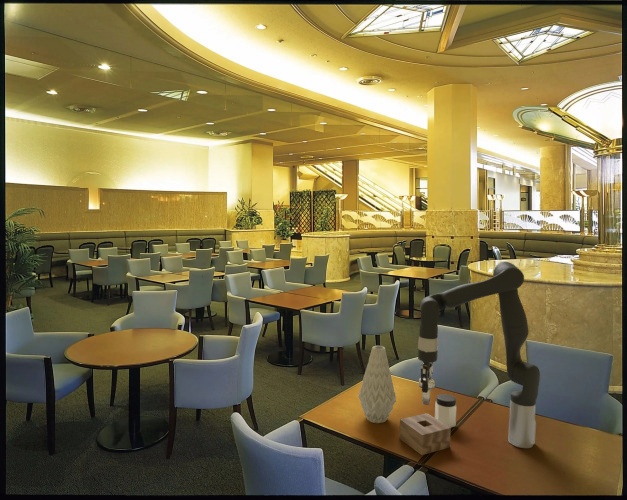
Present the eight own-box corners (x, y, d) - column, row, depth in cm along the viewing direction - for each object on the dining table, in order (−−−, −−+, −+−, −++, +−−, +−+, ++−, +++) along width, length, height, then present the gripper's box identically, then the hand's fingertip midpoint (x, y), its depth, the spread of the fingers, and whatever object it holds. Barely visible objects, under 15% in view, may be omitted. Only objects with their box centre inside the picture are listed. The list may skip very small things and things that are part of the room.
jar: (457, 428, 190) (459, 401, 189) (439, 428, 190) (440, 401, 189) (450, 419, 199) (451, 393, 198) (432, 419, 199) (433, 393, 198)
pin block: (426, 431, 187) (427, 413, 187) (449, 447, 175) (450, 427, 174) (399, 438, 181) (400, 419, 181) (421, 455, 169) (422, 435, 168)
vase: (378, 431, 186) (381, 355, 183) (350, 417, 199) (352, 346, 196) (403, 420, 197) (405, 348, 194) (375, 407, 210) (376, 339, 207)
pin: (426, 399, 181) (427, 376, 180) (436, 405, 175) (437, 381, 174) (415, 401, 178) (415, 378, 177) (424, 407, 173) (425, 384, 172)
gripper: (421, 342, 183) (420, 381, 184) (414, 351, 170) (413, 394, 171) (440, 344, 180) (438, 384, 181) (434, 354, 167) (432, 397, 168)
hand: (426, 389), depth 176 cm, fingers closed on pin, 6 cm apart
